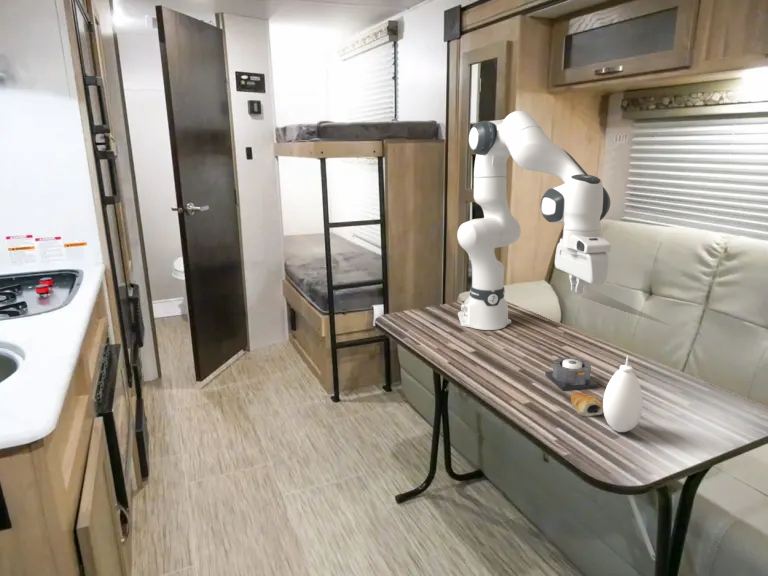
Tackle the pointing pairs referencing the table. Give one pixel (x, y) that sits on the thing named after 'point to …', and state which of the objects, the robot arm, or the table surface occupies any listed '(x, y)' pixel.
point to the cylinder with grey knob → (572, 364)
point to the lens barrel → (571, 375)
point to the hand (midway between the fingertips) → (576, 292)
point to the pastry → (586, 404)
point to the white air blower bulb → (623, 400)
